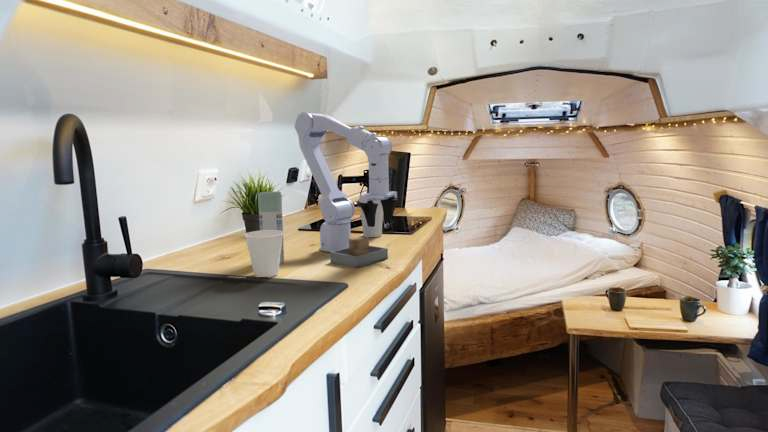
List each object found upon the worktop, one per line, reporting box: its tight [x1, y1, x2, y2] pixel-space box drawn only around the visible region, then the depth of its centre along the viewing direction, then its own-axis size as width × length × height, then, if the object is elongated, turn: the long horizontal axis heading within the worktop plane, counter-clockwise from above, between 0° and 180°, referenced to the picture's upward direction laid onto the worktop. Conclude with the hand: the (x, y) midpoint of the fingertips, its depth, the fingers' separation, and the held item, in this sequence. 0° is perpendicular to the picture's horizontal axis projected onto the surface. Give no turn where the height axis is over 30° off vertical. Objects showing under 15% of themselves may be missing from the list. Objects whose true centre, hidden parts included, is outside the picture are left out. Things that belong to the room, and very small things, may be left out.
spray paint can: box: [257, 191, 285, 265], centre depth 145 cm, size 6×6×20 cm
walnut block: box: [349, 236, 370, 256], centre depth 145 cm, size 4×4×6 cm
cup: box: [244, 230, 285, 278], centre depth 132 cm, size 10×10×11 cm
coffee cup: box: [358, 192, 384, 238], centre depth 182 cm, size 10×10×15 cm
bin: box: [329, 245, 389, 269], centre depth 146 cm, size 10×13×3 cm
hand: (379, 224), depth 151 cm, fingers open, 7 cm apart
